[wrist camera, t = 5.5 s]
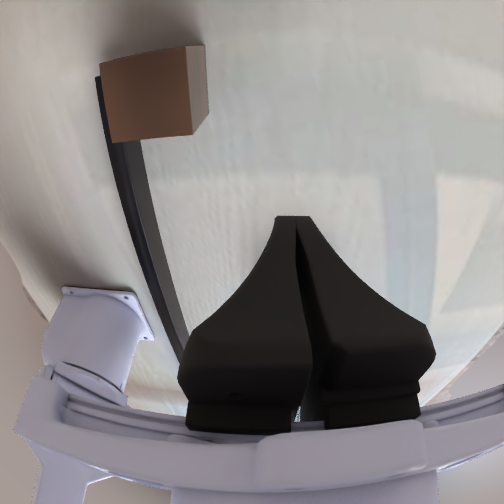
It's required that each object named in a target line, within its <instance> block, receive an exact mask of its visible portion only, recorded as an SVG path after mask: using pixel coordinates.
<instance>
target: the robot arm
mask: <svg viewBox="0 0 504 504" xmlns="http://www.w3.org/2000/svg"><path fill="white" fill-rule="evenodd" d="M62 293H63V294H64V296H63V298H62V300H61V302H60V304H59V306H58V308H57V310H56V311H55V313H54V315H53V317H52V319H51V321H50V323H49V325H48V327H47V329H46V331H45V334H44V336H43V340H42V347H41V349H42V350H41V351H42V359H43V361H44V364H45V366H42V367H41V368H40V370H39V373H38V375H33V376H32V378H31V381H30V383H29V386H28V388H27V391H26V394H25V397H24V399H23V402H22V405H21V408H20V411H19V414H18V417H17V421H16V423H15V427H14V431H15V433H17V434H19V435H20V436H22V437H23V439H24V441H25V443H26V444H27V446H28V447H29V449H30V450H31V451H32V453H33V455H34V456H35V457H36V459H37V460H38V462H39V463H40V466H39V469H38V474H37V478H36V482H35V487H34V492H33V496H32V502H31V504H83V502H84V497H85V493H86V489H87V485H88V484H90V483H93V482H96V481H99V480H103V479H106V478H109V477H112V476H116V477H119V478H123V479H126V480H129V481H133V482H137V483H141V484H145V485H149V486H153V487H158V488H162V489H168V490H172V497H171V504H440V500H439V488H438V479H437V473H439V472H442V471H445V470H447V469H450V468H453V467H455V466H458V465H461V464H463V463H466V462H468V461H471V460H473V459H475V458H478V457H480V456H482V455H484V454H487V453H489V452H491V451H493V450H495V449H497V448H499V447H501V446H503V445H504V384H502V385H499V386H496V387H493V388H490V389H487V390H484V391H481V392H478V393H475V394H472V395H468V396H465V397H461V398H457V399H454V400H450V401H446V402H442V403H438V404H434V405H429V406H425V407H420V406H419V401H418V397H417V394H418V393H419V392H420V386H419V381H418V380H419V379H420V378H421V377H422V376H423V374H424V373H425V372H426V371H427V370H428V369H429V367H430V366H431V365H432V363H433V362H434V360H435V356H436V352H435V349H434V345H433V342H432V339H431V336H430V334H429V332H428V330H427V327H426V325H425V324H423V323H422V322H420V321H418V320H417V319H415V318H413V317H411V316H410V315H408V314H406V313H405V312H403V311H401V310H400V309H398V308H397V307H396V306H394V305H393V304H391V303H390V302H388V301H387V300H386V299H384V298H383V297H382V296H380V295H379V294H378V293H376V292H375V291H374V290H373V289H372V288H370V287H369V286H368V285H367V284H366V283H364V282H363V281H362V280H361V279H360V278H359V277H358V276H357V275H356V274H355V273H354V272H353V271H352V270H351V269H350V268H349V267H348V266H347V265H346V264H345V263H344V261H343V260H342V259H341V258H340V257H339V256H338V254H337V253H336V252H335V251H334V250H333V248H332V247H331V246H330V244H329V243H328V242H327V240H326V239H325V238H324V236H323V235H322V234H321V232H320V231H319V229H318V228H317V226H316V225H315V223H314V222H313V220H312V219H311V218H310V217H309V216H277V217H276V218H275V222H274V227H273V230H272V233H271V236H270V238H269V240H268V242H267V245H266V247H265V249H264V251H263V253H262V254H261V256H260V258H259V260H258V261H257V263H256V265H255V266H254V268H253V269H252V271H251V272H250V274H249V275H248V276H247V278H246V279H245V280H244V282H243V283H242V284H241V285H240V287H239V288H238V289H237V290H236V291H235V293H234V294H233V295H232V296H231V297H230V298H229V299H228V300H227V301H226V302H225V303H224V304H223V305H222V306H221V307H220V308H219V309H218V310H217V311H216V312H215V313H214V314H212V315H211V316H210V317H209V318H208V319H206V320H205V321H204V322H203V323H201V324H200V325H199V326H198V327H196V328H195V329H194V330H193V331H192V333H191V335H190V337H189V339H188V341H187V344H186V346H185V349H184V351H183V354H182V357H181V361H180V366H179V371H178V376H177V379H178V383H179V385H180V387H181V388H182V390H183V392H184V394H185V395H186V397H187V399H188V400H189V401H188V408H187V414H186V417H183V416H175V415H168V414H161V413H155V412H149V411H143V410H138V409H133V408H131V407H130V406H128V405H127V401H128V396H126V395H124V394H123V393H124V389H125V385H126V382H127V378H128V375H129V371H130V368H131V364H132V361H133V358H134V354H135V351H136V348H137V344H138V341H139V339H140V340H149V341H153V340H154V335H153V333H152V330H151V328H150V326H149V324H148V322H147V320H146V317H145V315H144V313H143V311H142V308H141V306H140V304H139V302H138V299H137V297H136V295H135V294H134V293H133V292H124V291H111V290H98V289H86V288H75V287H63V288H62ZM299 406H301V410H300V422H294V420H295V417H296V414H297V411H298V408H299Z"/></svg>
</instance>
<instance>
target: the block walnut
mask: <svg viewBox="0 0 504 504" xmlns="http://www.w3.org/2000/svg"><path fill="white" fill-rule="evenodd" d="M99 66H100V74H101V81H102V88H103V95H104V101H105V107H106V113H107V118H108V124H109V129H110V134H111V139H112V143H118V142H126V141H134V140H142V139H151V138H161V137H172V136H185V135H193V134H194V133H195V131H196V130H197V128H198V127H199V126H200V124H201V123H202V122H203V121H204V119H205V118H206V117H207V115H208V114H209V105H208V91H207V75H206V59H205V46H204V45H198V46H183V47H176V48H169V49H163V50H157V51H151V52H146V53H141V54H136V55H131V56H127V57H123V58H118V59H114V60H111V61H107V62H103V63H100V64H99Z"/></svg>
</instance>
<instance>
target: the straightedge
mask: <svg viewBox="0 0 504 504" xmlns="http://www.w3.org/2000/svg"><path fill="white" fill-rule="evenodd" d="M95 82H96V89H97V95H98V101H99V107H100V113H101V118H102V124H103V129H104V134H105V138H106V143H107V148H108V152H109V157H110V161H111V165H112V169H113V173H114V177H115V181H116V185H117V189H118V193H119V197H120V200H121V204H122V207H123V211H124V214H125V218H126V221H127V224H128V228H129V231H130V234H131V237H132V241H133V244H134V247H135V250H136V253H137V256H138V259H139V262H140V265H141V268H142V271H143V274H144V276H145V279H146V282H147V285H148V287H149V290H150V293H151V295H152V298H153V301H154V303H155V306H156V309H157V311H158V314H159V316H160V319H161V321H162V324H163V326H164V329H165V331H166V333H167V336H168V338H169V340H170V343H171V345H172V347H173V350H174V352H175V354H176V357H177V359H178V361H179V363H180V361H181V357H182V354H183V351H184V349H185V346H186V344H187V341H188V339H189V334H188V331H187V328H186V325H185V322H184V319H183V316H182V312H181V309H180V306H179V302H178V299H177V296H176V292H175V289H174V285H173V282H172V278H171V275H170V271H169V268H168V264H167V260H166V257H165V253H164V249H163V245H162V241H161V237H160V233H159V229H158V225H157V221H156V217H155V212H154V208H153V204H152V199H151V194H150V190H149V185H148V180H147V175H146V171H145V165H144V160H143V155H142V150H141V144H140V140H134V141H126V142H118V143H112V139H111V134H110V129H109V124H108V118H107V113H106V107H105V101H104V95H103V88H102V81H101V75H100V76H97V77H95Z"/></svg>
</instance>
